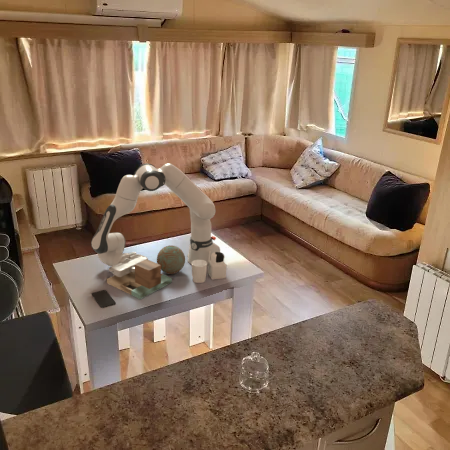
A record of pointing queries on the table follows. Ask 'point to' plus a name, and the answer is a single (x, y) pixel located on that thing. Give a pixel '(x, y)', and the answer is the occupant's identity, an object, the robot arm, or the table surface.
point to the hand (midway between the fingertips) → (141, 270)
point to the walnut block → (147, 273)
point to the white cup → (199, 271)
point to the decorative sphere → (171, 259)
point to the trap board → (136, 285)
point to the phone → (103, 298)
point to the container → (217, 266)
